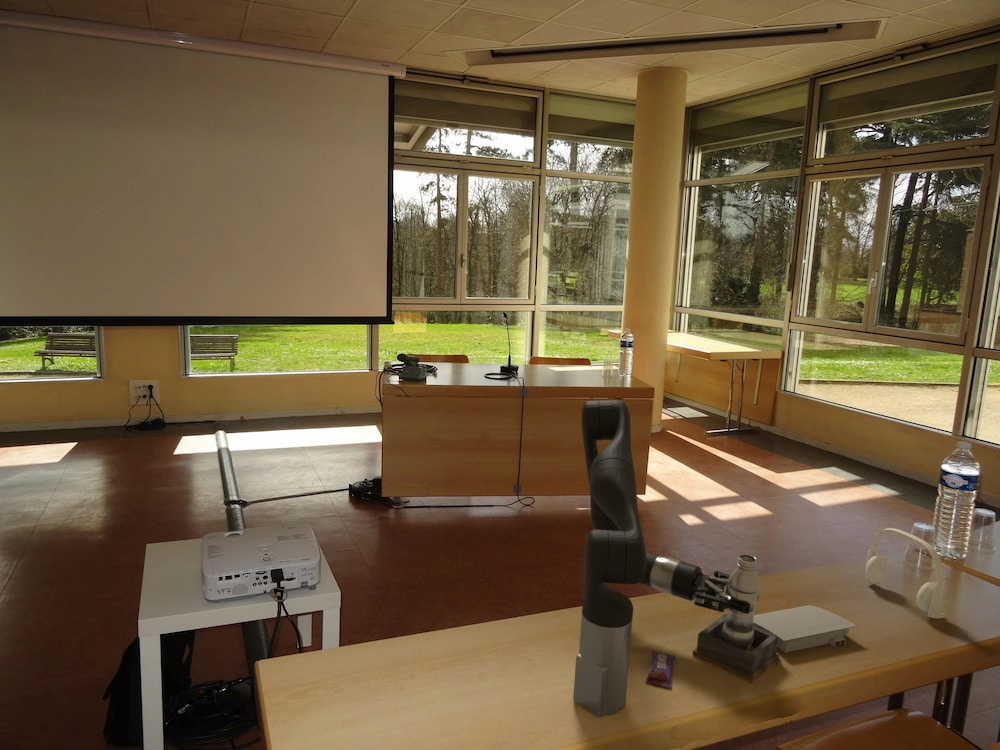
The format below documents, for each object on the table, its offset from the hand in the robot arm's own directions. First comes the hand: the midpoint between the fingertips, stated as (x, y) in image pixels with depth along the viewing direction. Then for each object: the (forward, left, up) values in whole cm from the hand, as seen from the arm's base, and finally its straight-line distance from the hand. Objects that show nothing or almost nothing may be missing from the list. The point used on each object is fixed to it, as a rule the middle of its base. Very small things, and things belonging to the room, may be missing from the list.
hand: (753, 602), depth 144 cm
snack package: (-17, +10, -14) cm, 24 cm away
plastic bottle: (0, +2, -11) cm, 11 cm away
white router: (+19, -3, -14) cm, 24 cm away
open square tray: (0, +2, -13) cm, 13 cm away
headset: (+55, -15, -13) cm, 58 cm away
